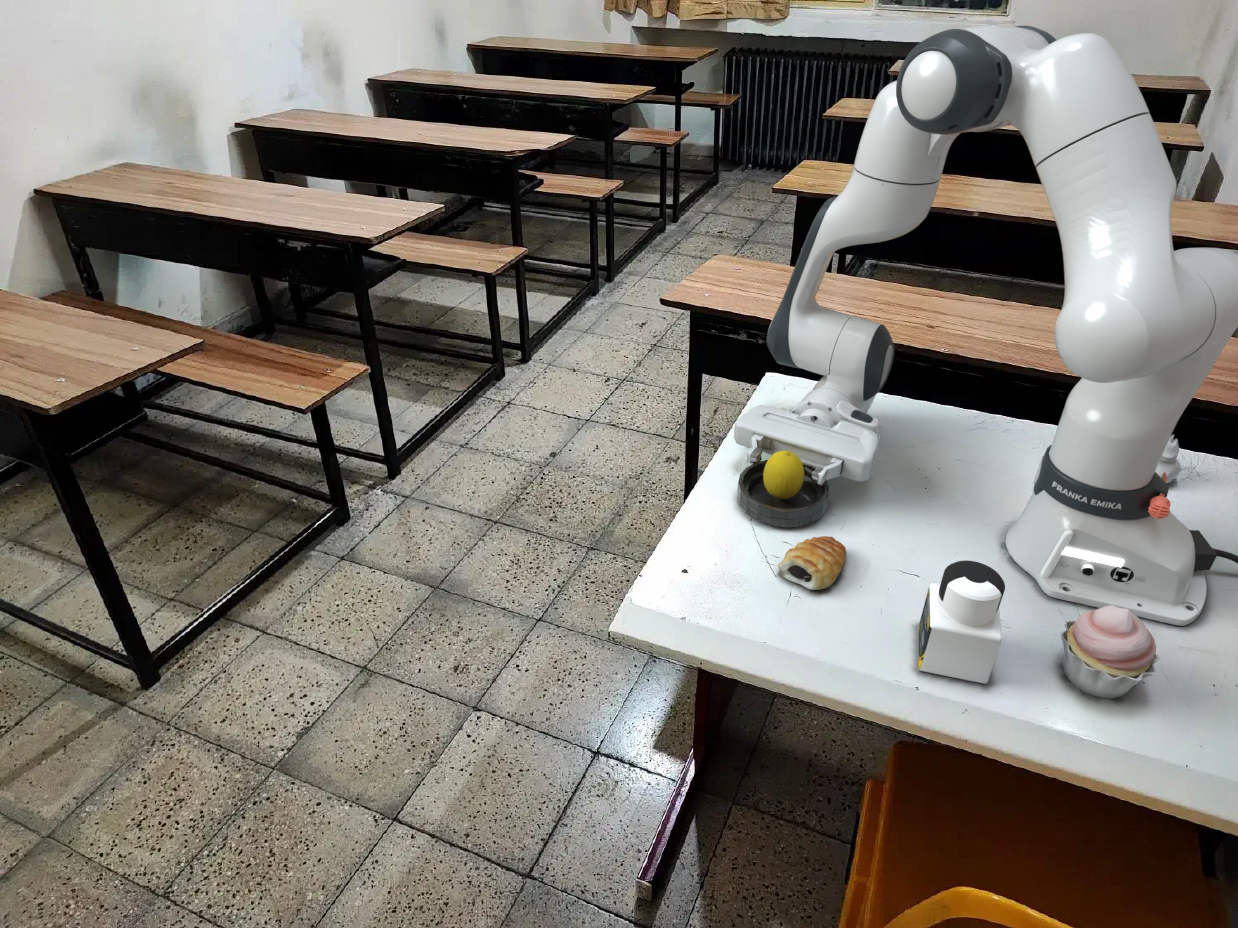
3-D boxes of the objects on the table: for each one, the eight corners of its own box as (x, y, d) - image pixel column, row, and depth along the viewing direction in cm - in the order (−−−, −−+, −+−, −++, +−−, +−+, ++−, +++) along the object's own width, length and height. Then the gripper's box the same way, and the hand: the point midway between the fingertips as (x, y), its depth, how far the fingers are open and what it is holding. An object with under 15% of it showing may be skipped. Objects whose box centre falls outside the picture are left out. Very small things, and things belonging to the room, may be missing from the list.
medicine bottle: (917, 626, 95) (938, 547, 89) (983, 638, 94) (1009, 559, 87) (917, 671, 90) (940, 591, 83) (987, 685, 88) (1016, 604, 81)
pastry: (812, 539, 109) (816, 516, 106) (858, 561, 105) (863, 538, 103) (773, 575, 103) (776, 552, 101) (821, 600, 99) (825, 576, 97)
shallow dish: (839, 493, 117) (842, 475, 115) (806, 540, 108) (809, 522, 107) (759, 467, 123) (761, 450, 121) (722, 511, 114) (723, 492, 112)
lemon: (800, 512, 113) (807, 464, 108) (759, 508, 114) (764, 460, 109) (801, 489, 117) (807, 442, 113) (762, 485, 118) (767, 438, 114)
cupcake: (1164, 704, 85) (1201, 637, 80) (1082, 717, 84) (1113, 649, 79) (1107, 639, 93) (1137, 574, 87) (1031, 649, 92) (1056, 584, 86)
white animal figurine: (1135, 487, 117) (1155, 440, 112) (1127, 462, 122) (1145, 416, 118) (1178, 493, 116) (1200, 446, 111) (1167, 467, 121) (1188, 421, 116)
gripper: (757, 387, 124) (716, 428, 114) (892, 423, 114) (859, 472, 105) (754, 422, 127) (714, 465, 118) (884, 460, 118) (851, 510, 108)
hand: (783, 469), depth 111 cm, fingers open, 8 cm apart
